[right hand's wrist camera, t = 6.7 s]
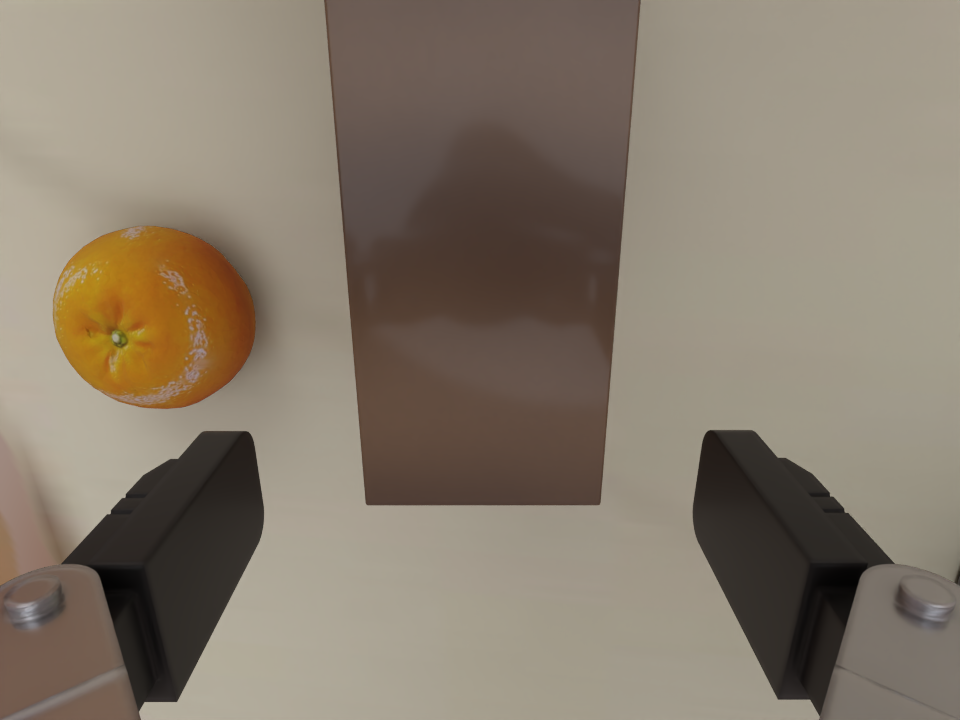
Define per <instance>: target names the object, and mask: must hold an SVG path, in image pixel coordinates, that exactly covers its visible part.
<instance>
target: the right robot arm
mask: <svg viewBox="0 0 960 720" xmlns="http://www.w3.org/2000/svg"><path fill="white" fill-rule="evenodd" d="M263 523H264V506H263V499H262V492H261V486H260V479H259V472H258V466H257V459H256V452H255V446H254V441H253V438H252V436H251V434H250V433H249V432H247V431H204V432H202V433H201V434H200V435H199V436H198V437H197V438H196V439H195V440H194V441H193V443H192V444H191V445H190V446H189V447H188V448H187V449H186V451H185V452H184V453H183V454H182V455H181V456H180V458H179V459H170V460H168V461H167V462H165V463H163V464H162V465H160V466H158V467H156V468H155V469H153V470H151V471H150V472H148V473H146V474H145V475H143V476H142V477H141V478H140V480H139V481H138V482H137V483H136V484H135V485H134V486H133V487H132V488H131V489H130V490H129V491H128V493H127V494H126V498H122V499H121V500H120V501H119V502H118V503H117V504H116V505H115V507H114V508H113V509H112V510H111V514H107V515H106V516H105V517H104V518H103V520H102V521H101V522H100V523H99V524H98V525H97V526H96V527H95V528H94V529H93V530H92V531H91V532H90V534H89V535H88V536H87V537H86V538H85V539H84V540H83V541H82V542H81V543H80V544H79V545H78V546H77V548H76V549H75V550H74V551H73V552H72V553H71V554H70V555H69V556H68V557H67V558H66V559H65V561H64V562H63V563H62V564H61V565H53V566H49V567H44V568H41V569H37V570H34V571H31V572H28V573H26V574H23V575H20V576H18V577H16V578H14V579H12V580H10V581H8V582H6V583H5V584H3V585H1V586H0V720H141V719H140V715H139V711H140V709H141V707H142V705H143V704H144V702H177V701H178V699H179V697H180V695H181V693H182V691H183V689H184V687H185V685H186V683H187V681H188V680H189V678H190V676H191V674H192V672H193V670H194V668H195V666H196V664H197V662H198V660H199V658H200V656H201V654H202V652H203V650H204V648H205V646H206V644H207V643H208V641H209V639H210V637H211V635H212V633H213V631H214V629H215V627H216V625H217V623H218V621H219V619H220V617H221V615H222V613H223V611H224V609H225V607H226V606H227V604H228V602H229V600H230V598H231V596H232V594H233V592H234V590H235V588H236V586H237V584H238V582H239V580H240V578H241V576H242V574H243V572H244V571H245V569H246V567H247V565H248V563H249V561H250V559H251V557H252V555H253V553H254V551H255V549H256V547H257V545H258V543H259V541H260V538H261V534H262V530H263ZM693 524H694V530H695V534H696V537H697V540H698V543H699V545H700V547H701V549H702V551H703V552H704V554H705V556H706V558H707V560H708V562H709V564H710V566H711V568H712V570H713V572H714V574H715V576H716V578H717V580H718V582H719V584H720V586H721V588H722V590H723V592H724V594H725V596H726V598H727V600H728V602H729V604H730V606H731V608H732V610H733V612H734V614H735V616H736V618H737V619H738V621H739V623H740V625H741V627H742V629H743V631H744V633H745V635H746V637H747V639H748V641H749V643H750V645H751V647H752V649H753V651H754V653H755V655H756V657H757V659H758V661H759V663H760V665H761V667H762V669H763V671H764V673H765V675H766V677H767V679H768V681H769V683H770V685H771V686H772V688H773V690H774V692H775V694H776V696H777V698H778V699H810V700H811V702H812V703H813V705H814V707H815V709H816V710H817V712H818V714H819V716H820V719H819V720H960V576H959V580H958V585H957V584H955V583H954V582H952V581H950V580H948V579H946V578H944V577H942V576H940V575H937V574H934V573H932V572H929V571H926V570H923V569H920V568H916V567H911V566H907V565H899V564H894V562H893V561H892V560H891V559H890V558H889V557H888V556H887V555H886V554H885V553H884V552H883V550H882V549H881V548H880V547H879V546H878V545H877V544H876V543H875V542H874V541H873V540H872V538H871V537H870V536H869V535H868V534H867V533H866V532H865V531H864V530H863V529H862V528H861V526H860V525H859V524H858V523H857V522H856V521H855V520H854V519H853V518H852V517H851V516H850V514H849V513H845V512H844V508H843V507H842V506H841V505H840V504H839V503H838V501H837V500H836V499H835V498H834V497H830V493H829V492H828V491H827V489H826V488H825V487H824V486H823V485H822V484H821V483H820V482H819V481H818V480H817V479H816V477H815V476H814V475H813V474H811V473H810V472H808V471H806V470H805V469H803V468H801V467H800V466H798V465H796V464H795V463H793V462H791V461H790V460H788V459H786V458H777V456H776V455H775V454H774V453H773V452H772V451H771V450H770V448H769V447H768V446H767V445H766V444H765V443H764V441H763V440H762V439H761V438H760V437H759V436H758V434H757V433H756V432H754V431H752V430H709V431H708V432H707V433H706V434H705V436H704V439H703V443H702V449H701V455H700V462H699V469H698V476H697V482H696V489H695V496H694V503H693Z"/></svg>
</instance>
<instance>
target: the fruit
mask: <svg viewBox="0 0 960 720" xmlns="http://www.w3.org/2000/svg"><path fill="white" fill-rule="evenodd" d="M53 321H54V326H55V333H56V337H57V340H58V342H59V344H60V346H61V348H62V350H63V352H64V354H65V356H66V358H67V359H68V361H69V362H70V364H71V365H72V366H73V368H74V369H75V370H76V371H77V372H78V374H79V375H80V376H81V377H82V378H83V379H84V380H85V381H86V382H88V383H89V384H90V385H92V386H93V387H94V388H95V389H97V390H99V391H101V392H102V393H104V394H105V395H107V396H109V397H111V398H113V399H115V400H117V401H119V402H123V403H126V404H130V405H135V406H138V407H144V408H159V409H169V408H181V407H186V406H189V405H192V404H194V403H197V402H199V401H201V400H203V399H205V398H207V397H208V396H210V395H211V394H213V393H215V392H216V391H218V390H219V389H220V388H222V387H223V386H224V385H226V384H227V383H228V382H230V381H231V380H232V379H233V377H234V376H235V375H236V374H237V373H238V371H239V370H240V369H241V368H242V366H243V365H244V363H245V362H246V360H247V358H248V356H249V354H250V352H251V349H252V346H253V342H254V337H255V324H256V321H255V311H254V305H253V301H252V298H251V295H250V293H249V290H248V288H247V286H246V284H245V283H244V281H243V280H242V279H241V277H240V276H239V274H238V273H237V271H236V270H235V269H234V268H233V266H232V265H231V264H230V263H229V262H228V261H227V260H226V259H225V257H224V256H223V255H222V254H221V253H220V252H219V251H217V250H216V249H215V248H214V247H212V246H211V245H210V244H208V243H206V242H205V241H203V240H201V239H199V238H197V237H195V236H192V235H190V234H187V233H184V232H181V231H178V230H174V229H170V228H163V227H156V226H137V227H131V228H127V229H123V230H119V231H115V232H112V233H108V234H106V235H103V236H101V237H99V238H97V239H95V240H94V241H92V242H91V243H89V244H87V245H86V246H84V247H83V248H82V249H81V250H80V251H78V252H77V253H76V254H75V255H74V256H73V257H72V258H71V259H70V260H69V262H68V263H67V265H66V266H65V268H64V270H63V271H62V273H61V275H60V277H59V280H58V283H57V286H56V289H55V293H54V298H53Z"/></svg>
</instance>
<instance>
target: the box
mask: <svg viewBox="0 0 960 720" xmlns="http://www.w3.org/2000/svg"><path fill="white" fill-rule="evenodd" d="M640 1H641V0H324V2H325V14H326V26H327V38H328V51H329V63H330V75H331V87H332V99H333V111H334V123H335V135H336V148H337V160H338V172H339V184H340V196H341V208H342V220H343V232H344V245H345V257H346V269H347V281H348V293H349V305H350V317H351V329H352V342H353V354H354V366H355V378H356V390H357V402H358V414H359V426H360V439H361V451H362V463H363V475H364V487H365V499H366V504H367V505H600V502H601V490H602V477H603V465H604V452H605V440H606V427H607V414H608V402H609V389H610V377H611V364H612V352H613V339H614V327H615V314H616V302H617V289H618V277H619V264H620V252H621V239H622V227H623V214H624V202H625V189H626V177H627V164H628V152H629V139H630V127H631V114H632V102H633V89H634V76H635V64H636V51H637V39H638V26H639V14H640Z"/></svg>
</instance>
